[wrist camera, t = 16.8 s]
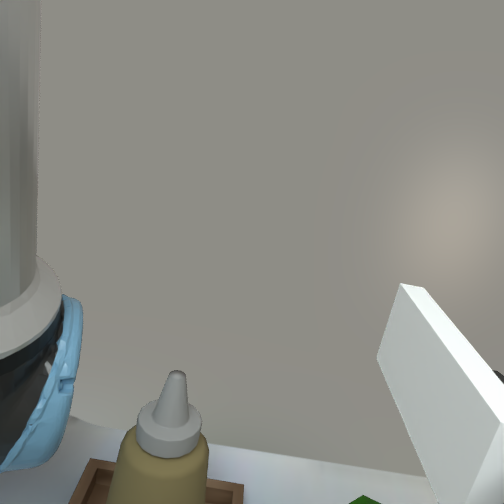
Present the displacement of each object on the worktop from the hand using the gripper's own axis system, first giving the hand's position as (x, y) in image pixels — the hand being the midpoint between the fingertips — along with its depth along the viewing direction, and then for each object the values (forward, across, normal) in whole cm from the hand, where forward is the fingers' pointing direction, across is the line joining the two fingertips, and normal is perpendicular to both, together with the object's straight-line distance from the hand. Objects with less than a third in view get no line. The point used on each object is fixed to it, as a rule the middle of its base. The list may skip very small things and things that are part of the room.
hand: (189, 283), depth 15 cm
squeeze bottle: (+15, -1, -32) cm, 35 cm away
